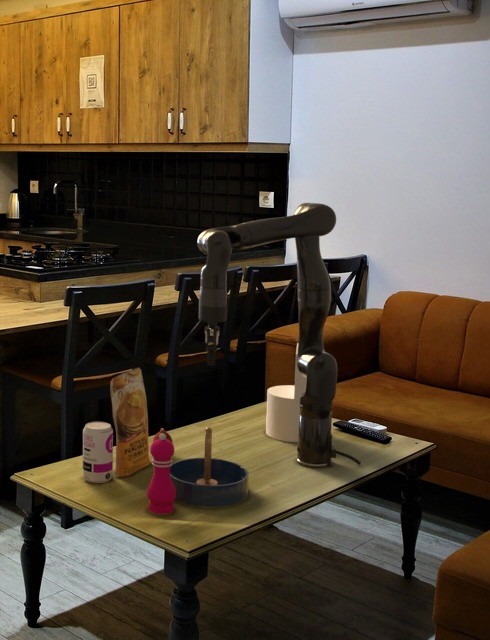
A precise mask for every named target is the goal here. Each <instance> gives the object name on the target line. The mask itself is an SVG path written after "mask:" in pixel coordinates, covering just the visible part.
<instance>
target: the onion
mask: <svg viewBox="0 0 490 640" xmlns="http://www.w3.org/2000/svg"><path fill="white" fill-rule="evenodd" d="M161 433H164V434H165V435H166V439H167V440H169V441H171V442H172V444H174V443H173V437H172V436H171V435H170V433H168V432H167V431H166V430H165V428H160V431H158V432H157V433H156V434H155V435H154V436H153V439H152V443H153V442H154V441H155V440H157V439H159V435H160V434H161Z"/></svg>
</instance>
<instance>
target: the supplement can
mask: <svg viewBox="0 0 490 640" xmlns="http://www.w3.org/2000/svg"><path fill="white" fill-rule="evenodd" d="M113 463H114V430H113V428H112V425H111V424H110V423H108V422H104V421H91V422H88V423H86V424H85V426H84V428H83V429H82V478H83V479H84V480H85V481H86V482H88V483H92V484H103V483H108V482H110V480H111V479H112V478H113V472H114V471H113V470H114V469H113V468H114V466H113Z"/></svg>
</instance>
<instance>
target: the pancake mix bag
mask: <svg viewBox="0 0 490 640" xmlns="http://www.w3.org/2000/svg"><path fill="white" fill-rule="evenodd" d="M109 384H110V386H109V387H110V388H109V392H110V399H111V406H112V419H113V425H114V429H115V438H116V439H115V441H116V442H115V443H116V445H115V469H114V475H115V477H116V478H121V477H129V476H132V475H134V474H136V473H137V471H140V470H141V469H142V468H145V467H147V466H149V465H150V464H151V461H150V456H149V455H150V454H149V453H150V444H149V440H150V438H149V414H148V401H147V400H148V399H147V393H146V388H145V384H144V377H143V372H142V369H141V367H135V368H133V369H131V370H128V371H124V372H122V373H121V374H118V375H116V376H115V377H113V378H112V379H111V380H110V383H109Z"/></svg>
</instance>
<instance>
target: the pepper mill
mask: <svg viewBox="0 0 490 640" xmlns="http://www.w3.org/2000/svg"><path fill="white" fill-rule="evenodd" d="M172 442H173V441H172ZM172 442H171V441H169V440H167V439H166V435H165V434H164V433H161V434H160V435H159V439H157V440H155V441H154V442H153V441H152V443H151V445H150V446H149V453H150V455H151V456H152V458H151V465H152V466H153V474H152V478H151V480H150V483H149V485H148V486H147V490H146V497H147V499H148V501H149V503H148V511H149V512H151V513H153V514H157V515H168V514H171V513H174V510H175V504H174V501H175V500H176V499H175V498H176V490H175V487H174V485H173V482H172V480H171V477H170V466H171V465H172V463H173V459H172V457H173V456H174V454H175V445H174V443H172Z"/></svg>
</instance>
